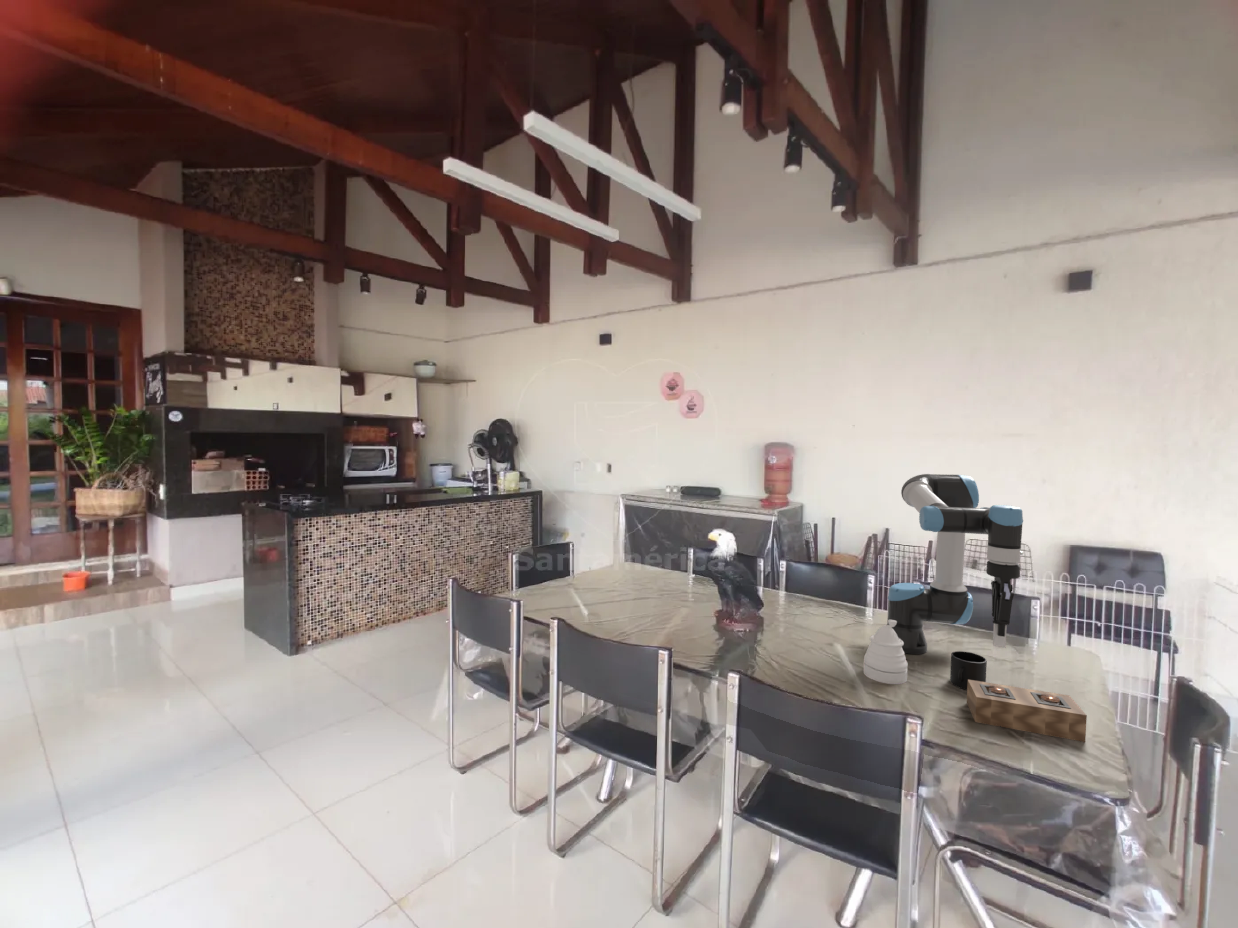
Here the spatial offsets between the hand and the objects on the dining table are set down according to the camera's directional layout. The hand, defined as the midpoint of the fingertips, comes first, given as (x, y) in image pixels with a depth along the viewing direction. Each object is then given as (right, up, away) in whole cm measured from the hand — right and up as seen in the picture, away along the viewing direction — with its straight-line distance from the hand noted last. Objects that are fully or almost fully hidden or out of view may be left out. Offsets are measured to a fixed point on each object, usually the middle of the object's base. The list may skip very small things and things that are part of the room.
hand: (999, 645), depth 152 cm
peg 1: (0, -19, +1) cm, 19 cm away
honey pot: (-19, -19, +27) cm, 38 cm away
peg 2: (+11, -20, -4) cm, 23 cm away
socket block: (+5, -20, -2) cm, 21 cm away
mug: (+3, -19, +20) cm, 28 cm away
